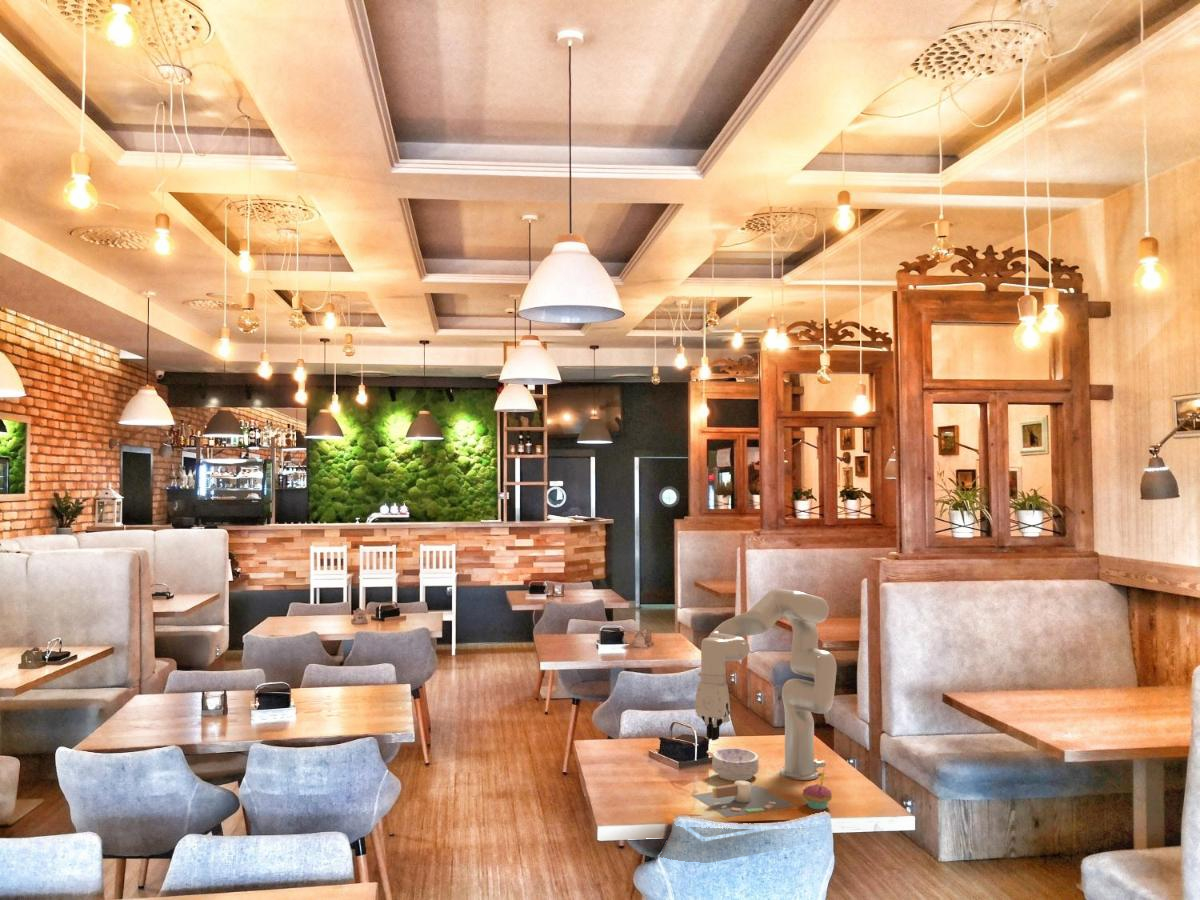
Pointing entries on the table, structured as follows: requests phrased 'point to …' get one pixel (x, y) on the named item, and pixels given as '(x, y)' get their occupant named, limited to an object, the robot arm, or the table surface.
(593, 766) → the table surface
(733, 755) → the light grey bowl
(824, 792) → the cupcake
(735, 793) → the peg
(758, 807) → the board
